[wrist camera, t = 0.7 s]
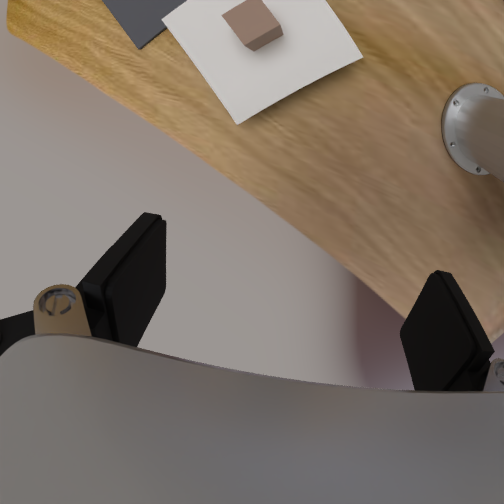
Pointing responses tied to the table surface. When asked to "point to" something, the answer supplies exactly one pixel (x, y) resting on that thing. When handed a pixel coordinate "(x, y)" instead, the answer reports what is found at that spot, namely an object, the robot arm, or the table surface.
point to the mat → (142, 17)
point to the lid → (260, 47)
